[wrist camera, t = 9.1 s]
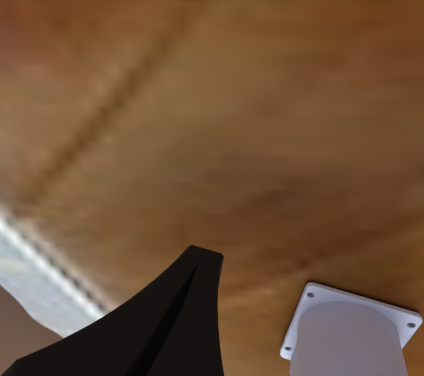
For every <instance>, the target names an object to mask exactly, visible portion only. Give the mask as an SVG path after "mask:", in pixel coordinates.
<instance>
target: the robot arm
mask: <svg viewBox="0 0 424 376" xmlns="http://www.w3.org/2000/svg"><path fill="white" fill-rule="evenodd" d="M223 258H224V256H223V255H222V254H221V253H218V252H214V251H211V250H207V249H204V248H201V247H197V246H194V245H191V246H189V247H188V248H187V249H186V250H185V251H184V252H183V253H182V254H181V255H180V256H179V258H178V259H177V260H176V261H174V262H173V263H172V264H171V265H170V266H169V267H168V268H167V269H166V270H165V271H164V272H163V273H161V274H160V275H159V276H158V277H157V278H156V279H155V280H154V281H152V282H151V283H150V284H149V285H147V286H146V287H145V288H144V289H142V290H141V291H140V292H139V293H137V294H136V295H135V296H133V297H132V298H131V299H129V300H128V301H126V302H125V303H124V304H122V305H121V306H119V307H118V308H116V309H115V310H113V311H112V312H110V313H108V314H107V315H105V316H104V317H102V318H100V319H99V320H97V321H95V322H94V323H92V324H90V325H88V326H87V327H85V328H83V329H81V330H79V331H77V332H75V333H73V334H71V335H70V336H68V337H66V338H64V339H62V340H60V341H58V342H56V343H54V344H52V345H49V346H47V347H45V348H43V349H40V350H38V351H36V352H33V353H31V354H29V355H27V356H24V357H22V358H20V359H17V360H16V361H15V362H14V363H13V364H12V365H11V366H10V367H9V368H8V369H7V370H6V371H5V372H4V373H3V374H2V375H1V376H224V372H223V366H222V359H221V351H220V341H219V330H218V307H217V301H218V286H219V280H220V275H221V269H222V264H223ZM310 293H313V294H310ZM422 322H423V320H422V317H421V315H420V314H419V313H417V312H413V311H410V310H407V309H403V308H400V307H396V306H393V305H389V304H386V303H383V302H379V301H376V300H372V299H369V298H365V297H362V296H359V295H355V294H352V293H348V292H345V291H341V290H338V289H335V288H331V287H328V286H324V285H321V284H317V283H313V282H310V283H307V284H306V286H305V289H304V291H303V294H302V296H301V299H300V301H299V304H298V306H297V309H296V311H295V314H294V316H293V319H292V321H291V324H290V326H289V329H288V331H287V334H286V336H285V339H284V341H283V344H282V346H281V349H280V356H282V357H283V358H286V359H288V360H291V361H290V374H289V376H408V373H407V369H406V365H405V361H404V356H403V352H402V348H403V347H404V346H405V344H406V343H407V342H408V341H409V339H410V338H411V337H412V335H413V334H414V333H415V331H416V330H417V329H418V327H419V326H420V325H421V323H422Z"/></svg>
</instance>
